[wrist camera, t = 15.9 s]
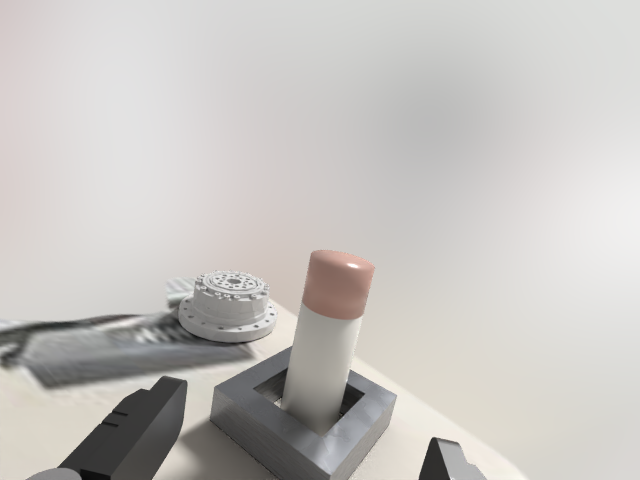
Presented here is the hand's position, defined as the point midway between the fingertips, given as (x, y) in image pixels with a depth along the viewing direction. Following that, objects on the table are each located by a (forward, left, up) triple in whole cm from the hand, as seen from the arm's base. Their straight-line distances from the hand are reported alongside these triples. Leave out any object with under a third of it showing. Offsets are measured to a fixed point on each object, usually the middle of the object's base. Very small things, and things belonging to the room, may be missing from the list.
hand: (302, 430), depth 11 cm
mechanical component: (-20, +16, -10) cm, 27 cm away
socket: (-5, +10, -9) cm, 14 cm away
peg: (-5, +10, -9) cm, 14 cm away
